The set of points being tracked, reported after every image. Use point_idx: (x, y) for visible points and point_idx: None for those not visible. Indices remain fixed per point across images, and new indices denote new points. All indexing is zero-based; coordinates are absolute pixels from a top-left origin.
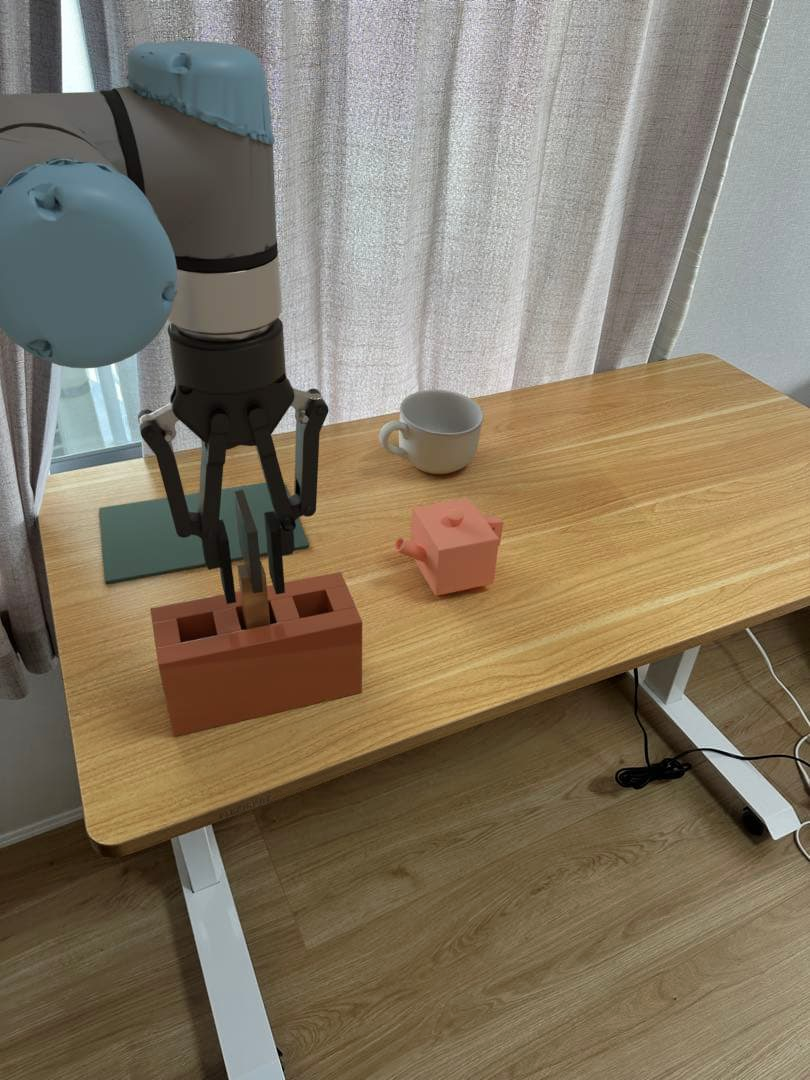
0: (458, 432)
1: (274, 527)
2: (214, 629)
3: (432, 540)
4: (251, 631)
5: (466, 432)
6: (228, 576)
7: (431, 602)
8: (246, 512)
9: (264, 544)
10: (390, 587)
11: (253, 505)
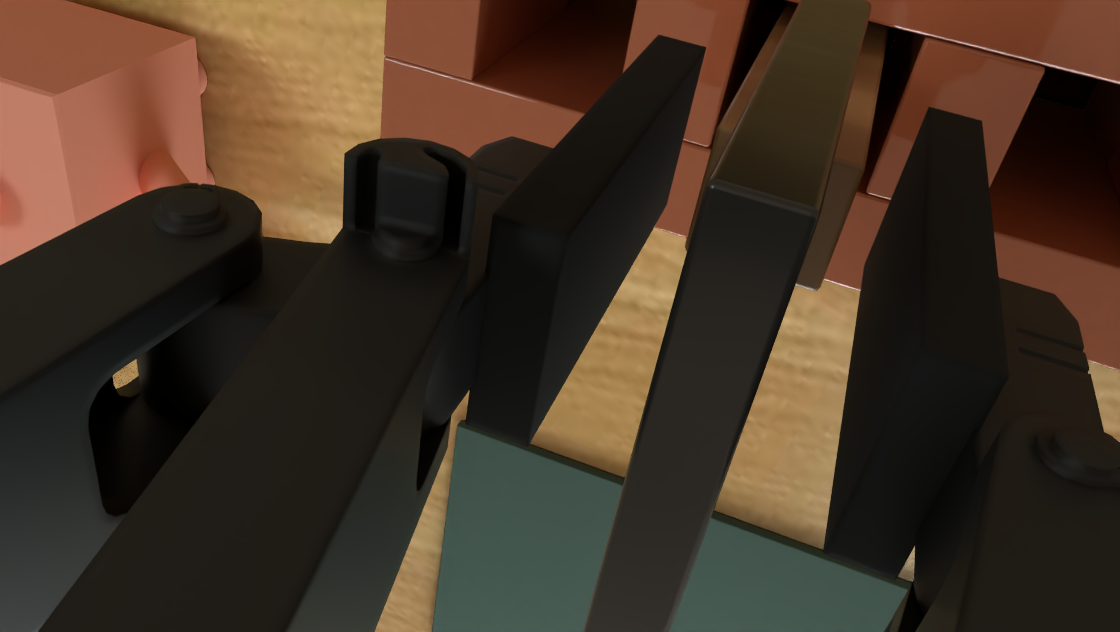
0: None
1: (521, 267)
2: None
3: (65, 155)
4: (888, 2)
5: None
6: (955, 193)
7: (223, 39)
8: (667, 475)
9: (566, 495)
10: (312, 162)
11: (532, 618)
